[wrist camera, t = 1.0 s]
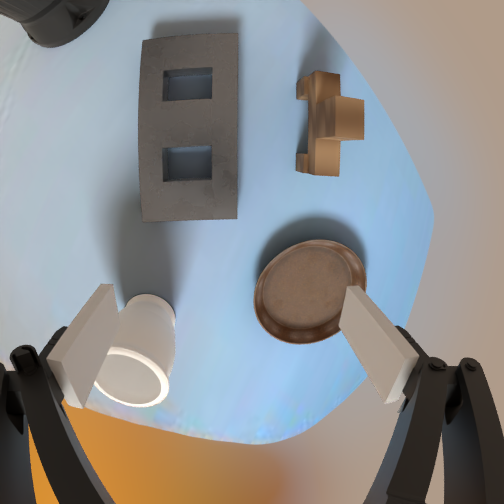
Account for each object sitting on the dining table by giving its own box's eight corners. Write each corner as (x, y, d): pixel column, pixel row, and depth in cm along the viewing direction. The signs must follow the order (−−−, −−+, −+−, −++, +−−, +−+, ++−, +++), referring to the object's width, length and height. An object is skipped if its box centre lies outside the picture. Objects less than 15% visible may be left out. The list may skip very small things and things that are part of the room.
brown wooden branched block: (296, 83, 33) (329, 54, 21) (324, 86, 34) (366, 62, 21) (295, 170, 37) (328, 180, 25) (323, 172, 38) (366, 182, 26)
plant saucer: (376, 288, 45) (384, 296, 42) (296, 351, 48) (299, 362, 45) (320, 209, 40) (327, 213, 37) (227, 286, 43) (227, 296, 40)
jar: (159, 276, 41) (132, 336, 27) (194, 328, 44) (185, 397, 30) (107, 302, 41) (70, 361, 27) (143, 349, 45) (122, 414, 31)
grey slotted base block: (149, 49, 29) (142, 40, 26) (237, 43, 31) (238, 33, 27) (149, 215, 38) (142, 222, 34) (236, 213, 39) (237, 219, 35)
